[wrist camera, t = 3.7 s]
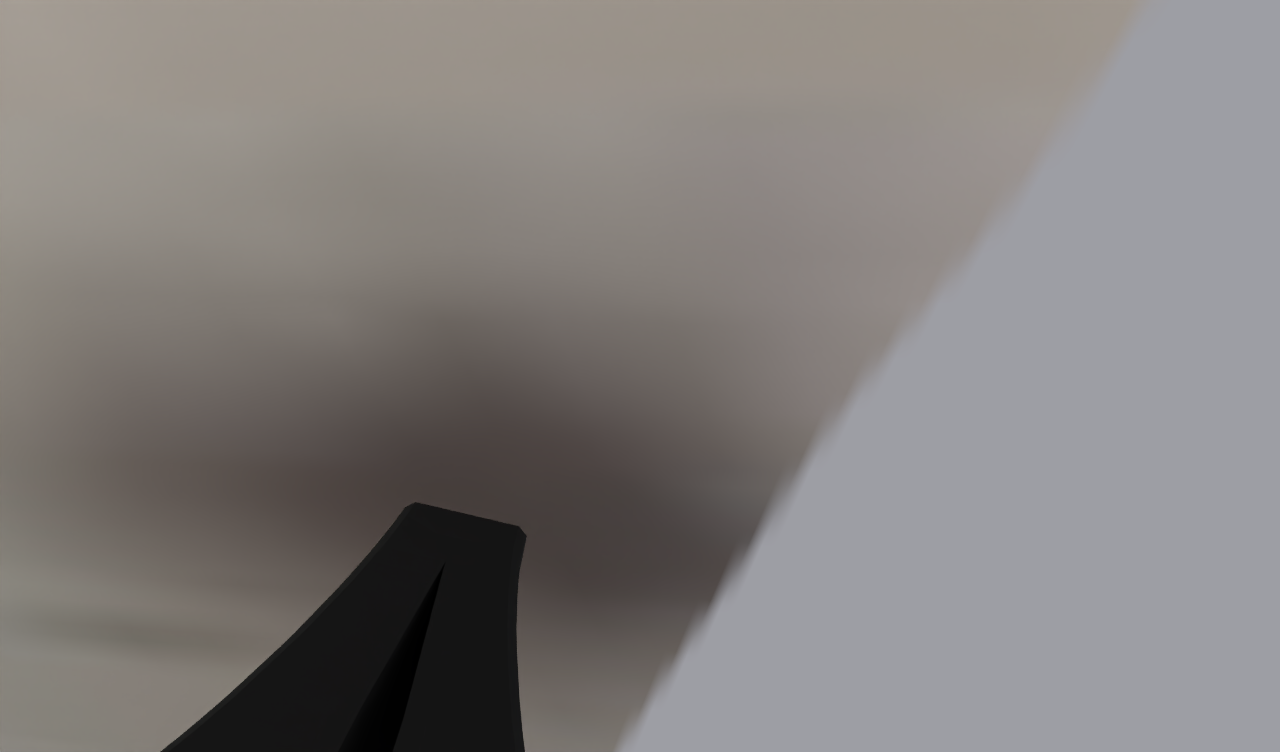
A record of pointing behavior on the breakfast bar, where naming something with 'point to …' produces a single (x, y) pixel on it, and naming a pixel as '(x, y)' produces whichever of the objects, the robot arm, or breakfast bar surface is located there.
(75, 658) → the breakfast bar surface
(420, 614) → the robot arm
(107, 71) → the breakfast bar surface
